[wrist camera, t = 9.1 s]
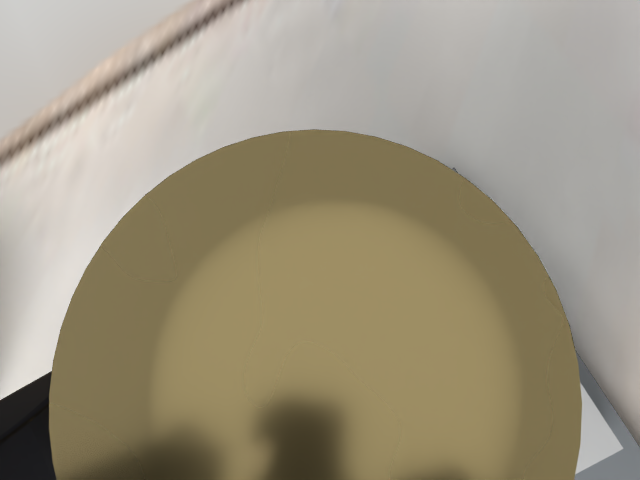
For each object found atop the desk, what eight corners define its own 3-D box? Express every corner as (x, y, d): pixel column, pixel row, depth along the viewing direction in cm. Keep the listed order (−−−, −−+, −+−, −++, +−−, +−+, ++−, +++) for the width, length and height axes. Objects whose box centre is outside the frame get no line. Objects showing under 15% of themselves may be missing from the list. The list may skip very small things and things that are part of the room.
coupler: (503, 388, 17) (770, 419, 4) (393, 487, 17) (248, 898, 4) (402, 281, 18) (324, 9, 5) (300, 372, 18) (-63, 351, 5)
